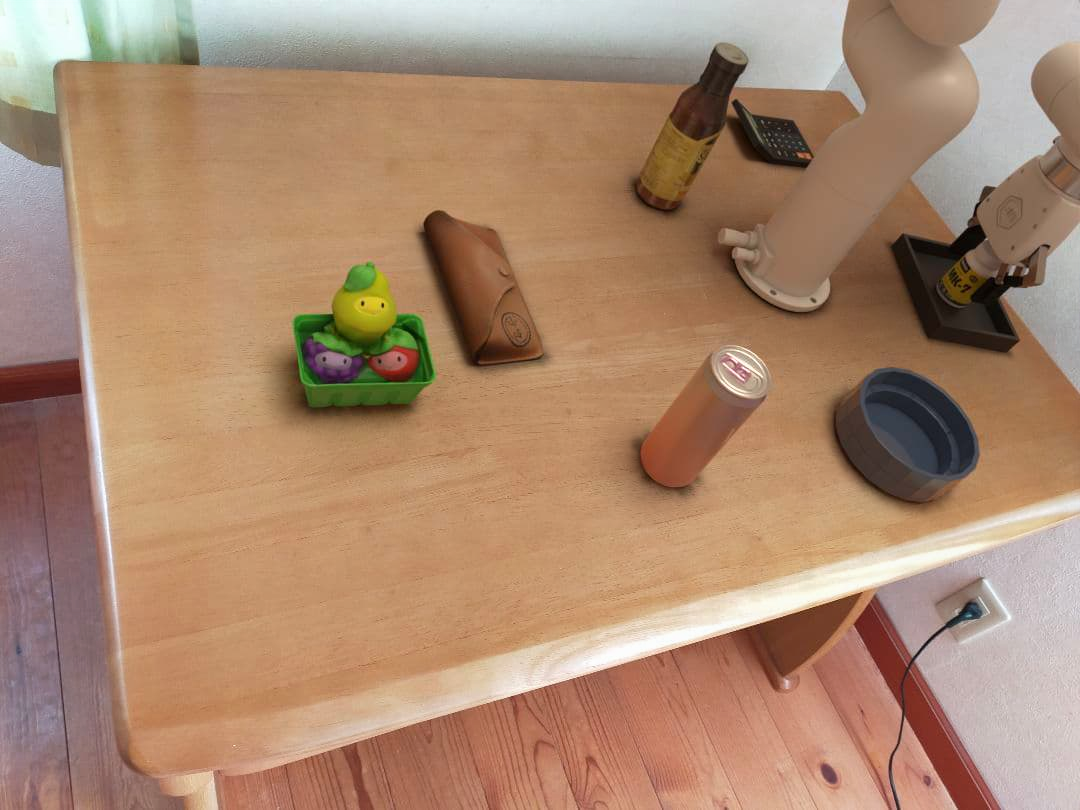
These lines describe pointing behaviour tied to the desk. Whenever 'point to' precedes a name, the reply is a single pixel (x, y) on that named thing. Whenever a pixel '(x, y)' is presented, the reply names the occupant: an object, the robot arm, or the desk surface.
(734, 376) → the beverage can
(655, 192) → the sauce bottle
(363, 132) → the desk surface
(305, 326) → the fruit basket
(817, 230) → the robot arm
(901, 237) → the tray
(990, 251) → the supplement bottle
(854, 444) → the bowl
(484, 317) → the sunglasses case
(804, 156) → the calculator
